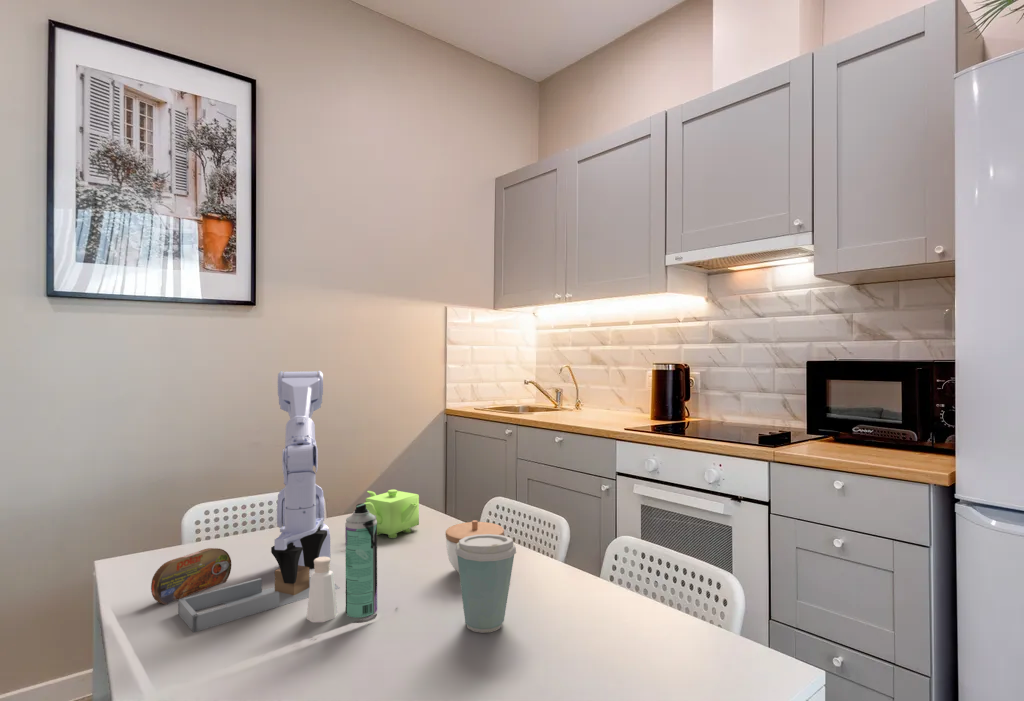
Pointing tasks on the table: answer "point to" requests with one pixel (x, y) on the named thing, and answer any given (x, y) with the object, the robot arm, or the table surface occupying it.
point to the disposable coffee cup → (485, 579)
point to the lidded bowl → (466, 530)
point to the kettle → (394, 511)
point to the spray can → (361, 564)
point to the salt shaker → (322, 592)
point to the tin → (190, 574)
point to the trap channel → (233, 603)
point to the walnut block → (298, 586)
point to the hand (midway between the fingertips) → (300, 575)
